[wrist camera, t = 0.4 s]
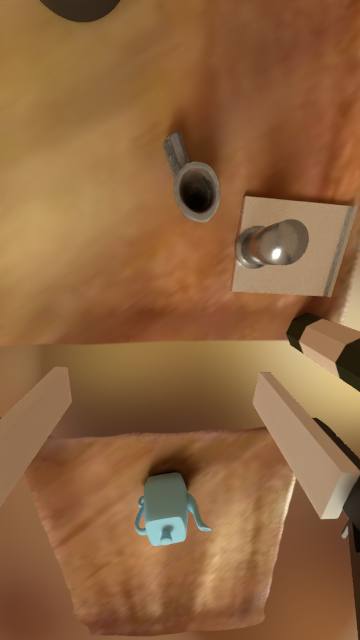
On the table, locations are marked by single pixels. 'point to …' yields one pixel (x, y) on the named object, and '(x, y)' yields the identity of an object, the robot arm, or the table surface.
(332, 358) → the wine bottle
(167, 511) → the teapot
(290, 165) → the table surface
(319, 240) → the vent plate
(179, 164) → the pipe
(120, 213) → the table surface
